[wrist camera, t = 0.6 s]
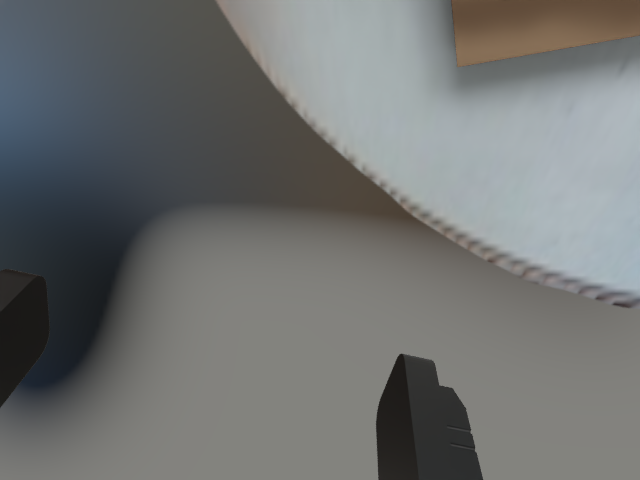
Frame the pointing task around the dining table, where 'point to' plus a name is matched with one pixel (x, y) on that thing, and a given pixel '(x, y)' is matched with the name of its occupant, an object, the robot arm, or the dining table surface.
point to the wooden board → (537, 26)
